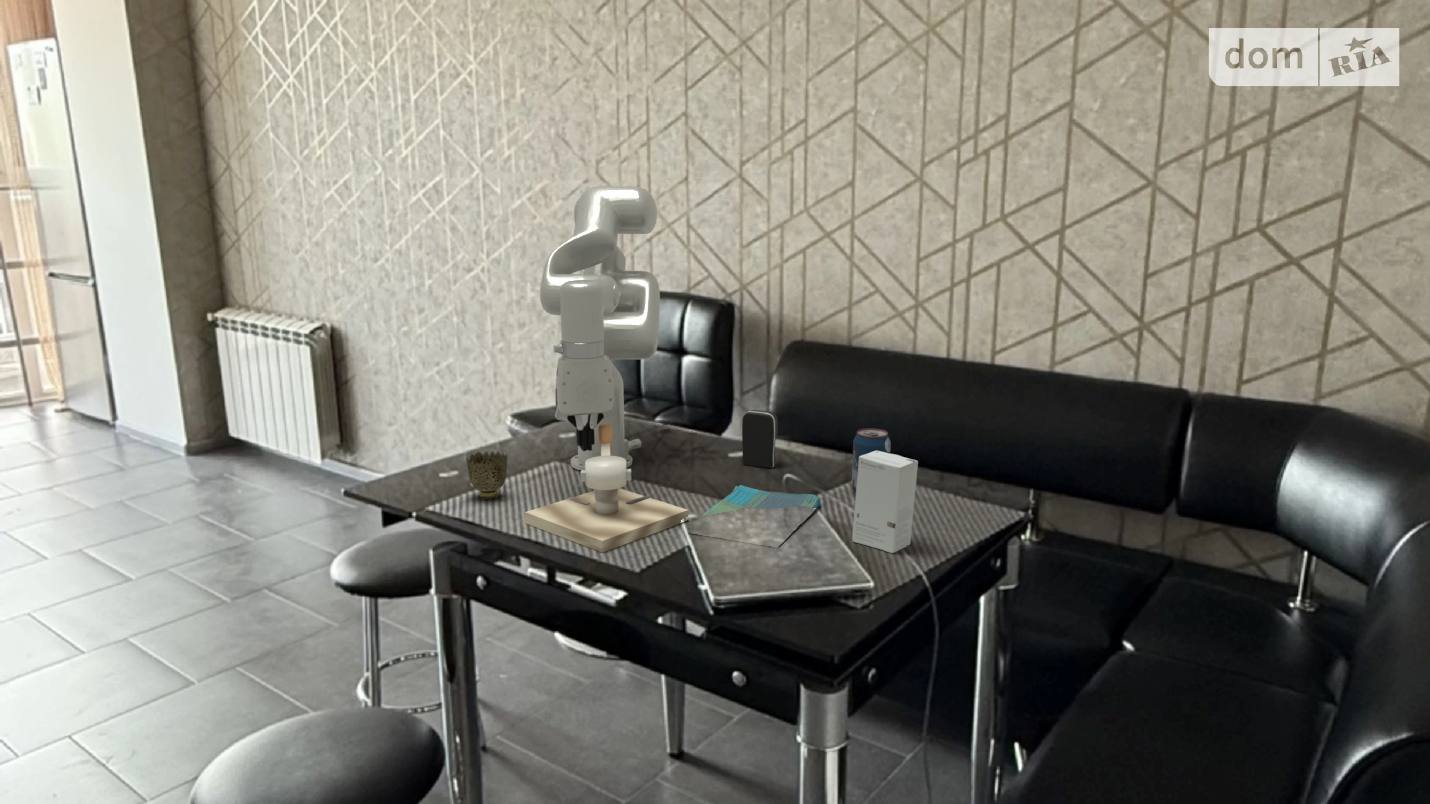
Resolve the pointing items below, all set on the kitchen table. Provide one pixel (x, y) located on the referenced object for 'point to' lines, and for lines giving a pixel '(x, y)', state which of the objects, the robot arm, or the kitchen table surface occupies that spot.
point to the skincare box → (884, 501)
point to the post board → (606, 518)
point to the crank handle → (605, 465)
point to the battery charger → (759, 438)
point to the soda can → (868, 447)
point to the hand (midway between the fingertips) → (585, 448)
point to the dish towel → (762, 500)
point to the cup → (487, 473)
